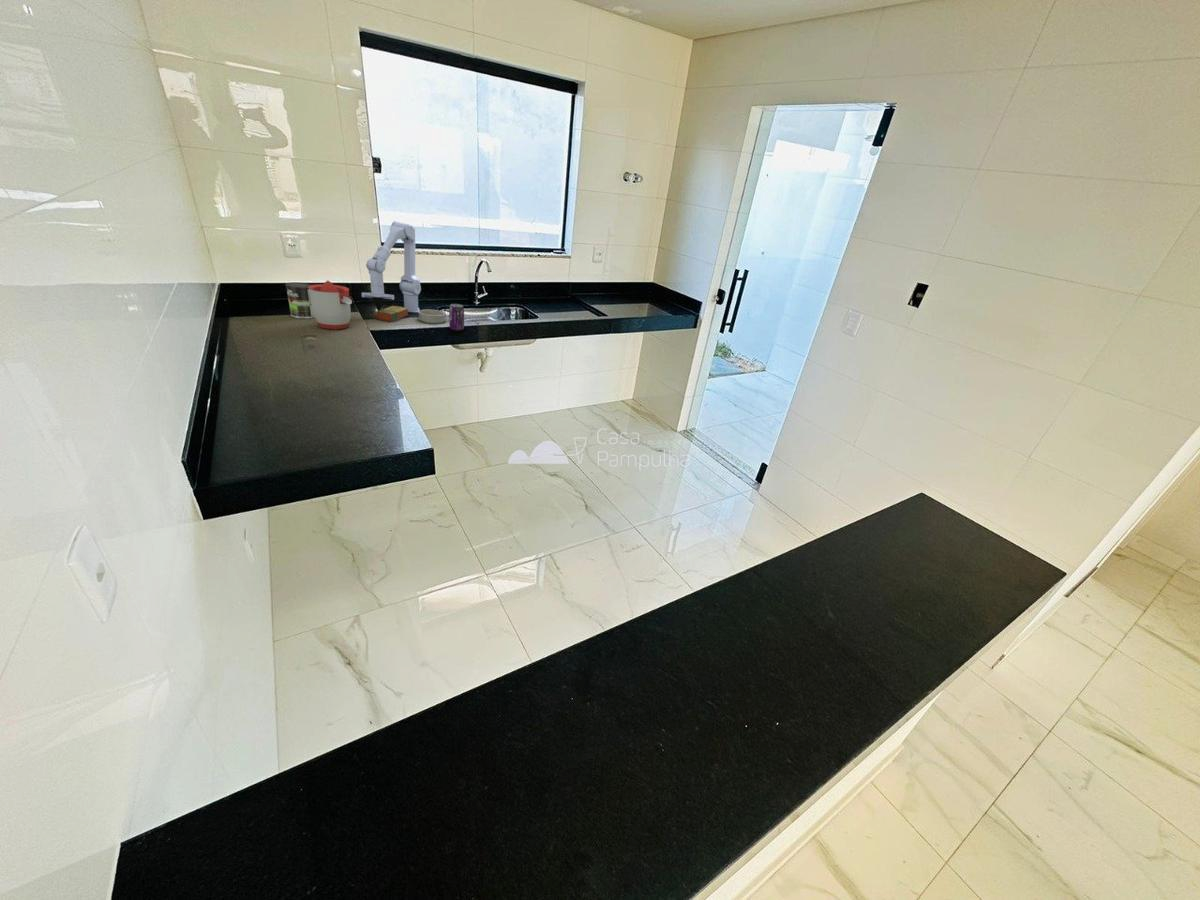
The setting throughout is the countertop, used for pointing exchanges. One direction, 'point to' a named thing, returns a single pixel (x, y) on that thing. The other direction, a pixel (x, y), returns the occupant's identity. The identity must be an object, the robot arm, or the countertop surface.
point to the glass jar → (299, 300)
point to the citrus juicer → (330, 305)
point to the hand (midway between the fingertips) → (379, 312)
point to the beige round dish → (431, 316)
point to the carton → (392, 313)
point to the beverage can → (456, 317)
